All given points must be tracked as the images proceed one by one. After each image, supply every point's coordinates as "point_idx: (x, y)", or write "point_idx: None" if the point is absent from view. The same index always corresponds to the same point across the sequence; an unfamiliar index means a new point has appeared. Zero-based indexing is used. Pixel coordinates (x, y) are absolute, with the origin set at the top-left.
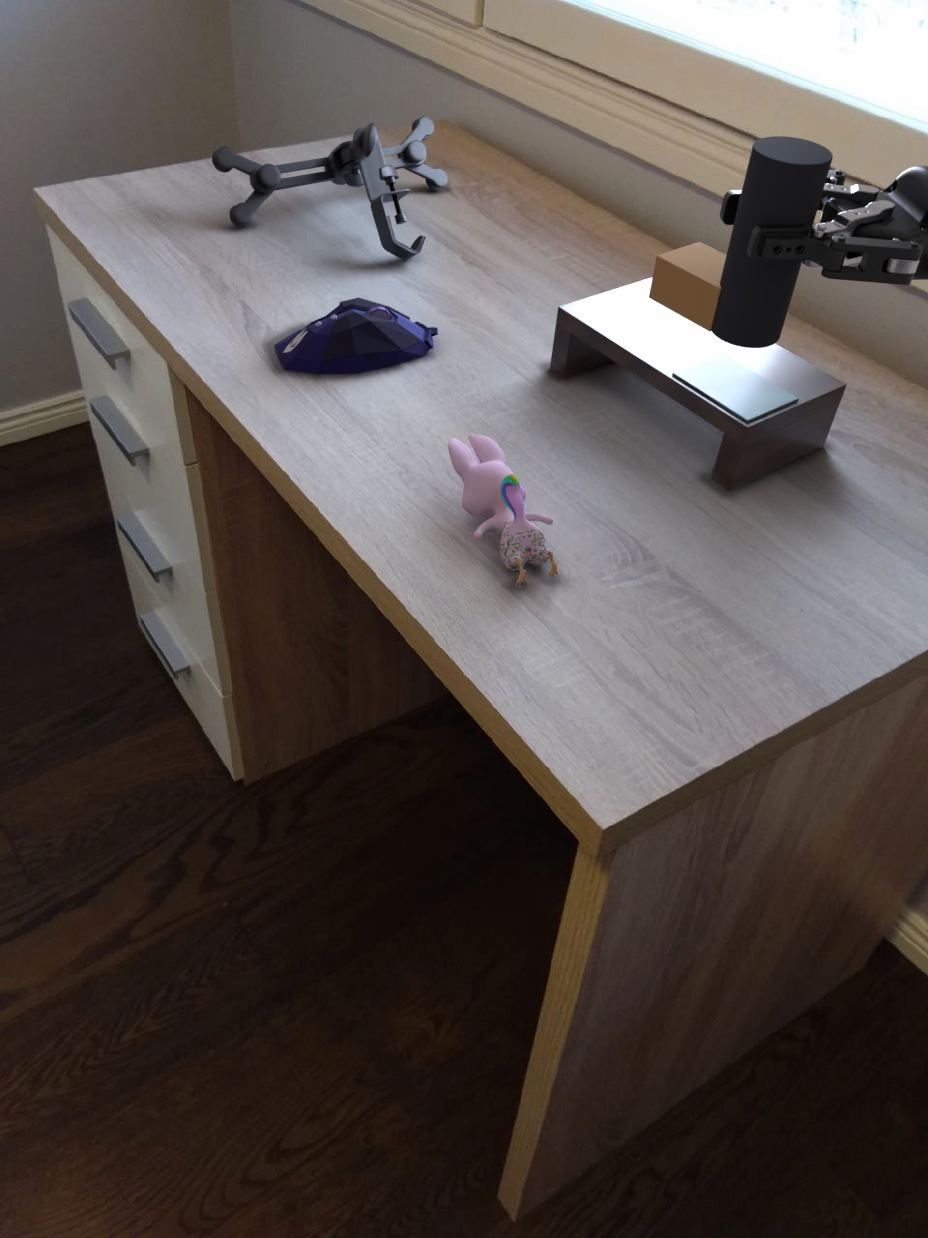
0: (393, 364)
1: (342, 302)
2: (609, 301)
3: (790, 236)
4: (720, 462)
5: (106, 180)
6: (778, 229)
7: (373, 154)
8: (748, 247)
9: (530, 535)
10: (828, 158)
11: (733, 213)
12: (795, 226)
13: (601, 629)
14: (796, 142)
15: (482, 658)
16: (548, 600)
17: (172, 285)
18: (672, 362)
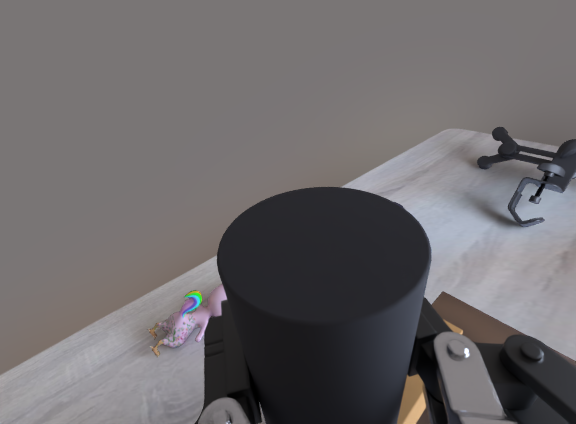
0: None
1: (394, 202)
2: (490, 332)
3: (219, 360)
4: None
5: (479, 133)
6: (222, 328)
7: (571, 158)
8: None
9: (172, 325)
10: (273, 308)
11: None
12: (236, 361)
13: (103, 391)
14: (383, 242)
15: (105, 325)
16: (141, 355)
17: (401, 168)
18: None
